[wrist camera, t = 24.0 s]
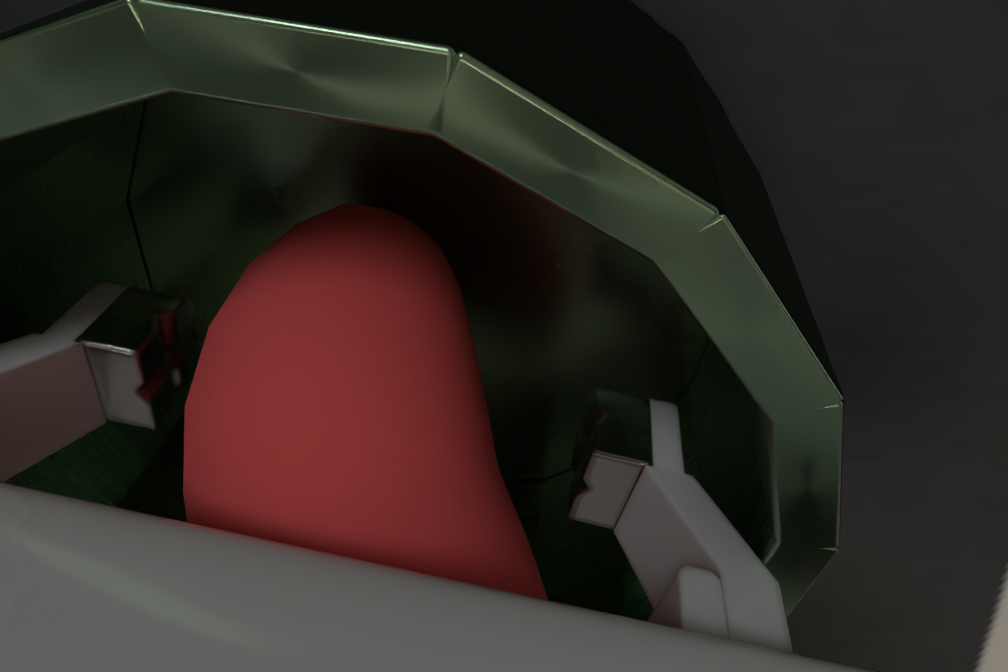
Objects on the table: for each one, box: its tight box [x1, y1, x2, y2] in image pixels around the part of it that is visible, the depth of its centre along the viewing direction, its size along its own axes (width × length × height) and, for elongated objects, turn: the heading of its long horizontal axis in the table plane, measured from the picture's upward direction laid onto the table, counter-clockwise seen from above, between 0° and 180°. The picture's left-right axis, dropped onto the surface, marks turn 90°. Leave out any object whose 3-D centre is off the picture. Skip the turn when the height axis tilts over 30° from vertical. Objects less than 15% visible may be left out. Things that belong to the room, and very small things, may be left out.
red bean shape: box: [183, 204, 548, 600], centre depth 11 cm, size 5×9×6 cm, turn 10°
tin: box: [0, 0, 844, 621], centre depth 12 cm, size 14×14×6 cm
